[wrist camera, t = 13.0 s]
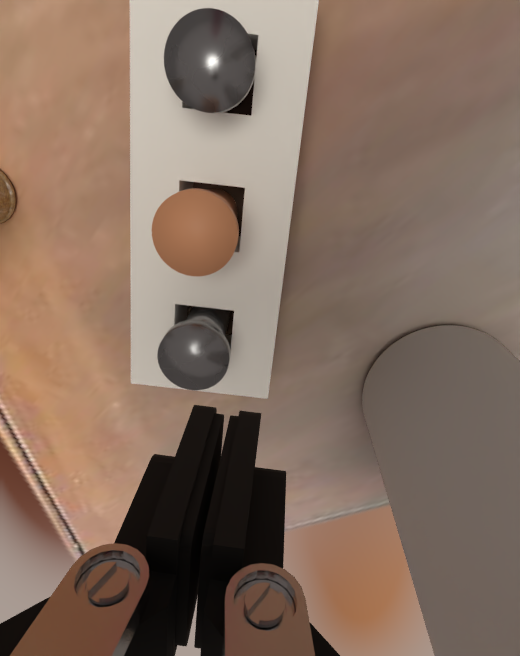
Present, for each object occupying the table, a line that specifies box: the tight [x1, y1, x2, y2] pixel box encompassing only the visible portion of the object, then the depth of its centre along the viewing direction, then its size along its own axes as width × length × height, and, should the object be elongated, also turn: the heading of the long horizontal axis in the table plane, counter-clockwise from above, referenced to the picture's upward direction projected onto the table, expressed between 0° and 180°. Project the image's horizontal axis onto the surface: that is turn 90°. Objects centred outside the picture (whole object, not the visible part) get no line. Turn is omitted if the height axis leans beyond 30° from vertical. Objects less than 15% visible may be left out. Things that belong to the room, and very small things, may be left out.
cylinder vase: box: [362, 325, 520, 656], centre depth 27 cm, size 12×12×25 cm
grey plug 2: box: [157, 306, 231, 390], centre depth 32 cm, size 4×4×8 cm
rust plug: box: [152, 188, 239, 276], centre depth 27 cm, size 4×4×8 cm
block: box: [130, 0, 319, 399], centre depth 31 cm, size 10×25×5 cm, turn 174°
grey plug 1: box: [164, 8, 256, 113], centre depth 26 cm, size 4×4×8 cm
